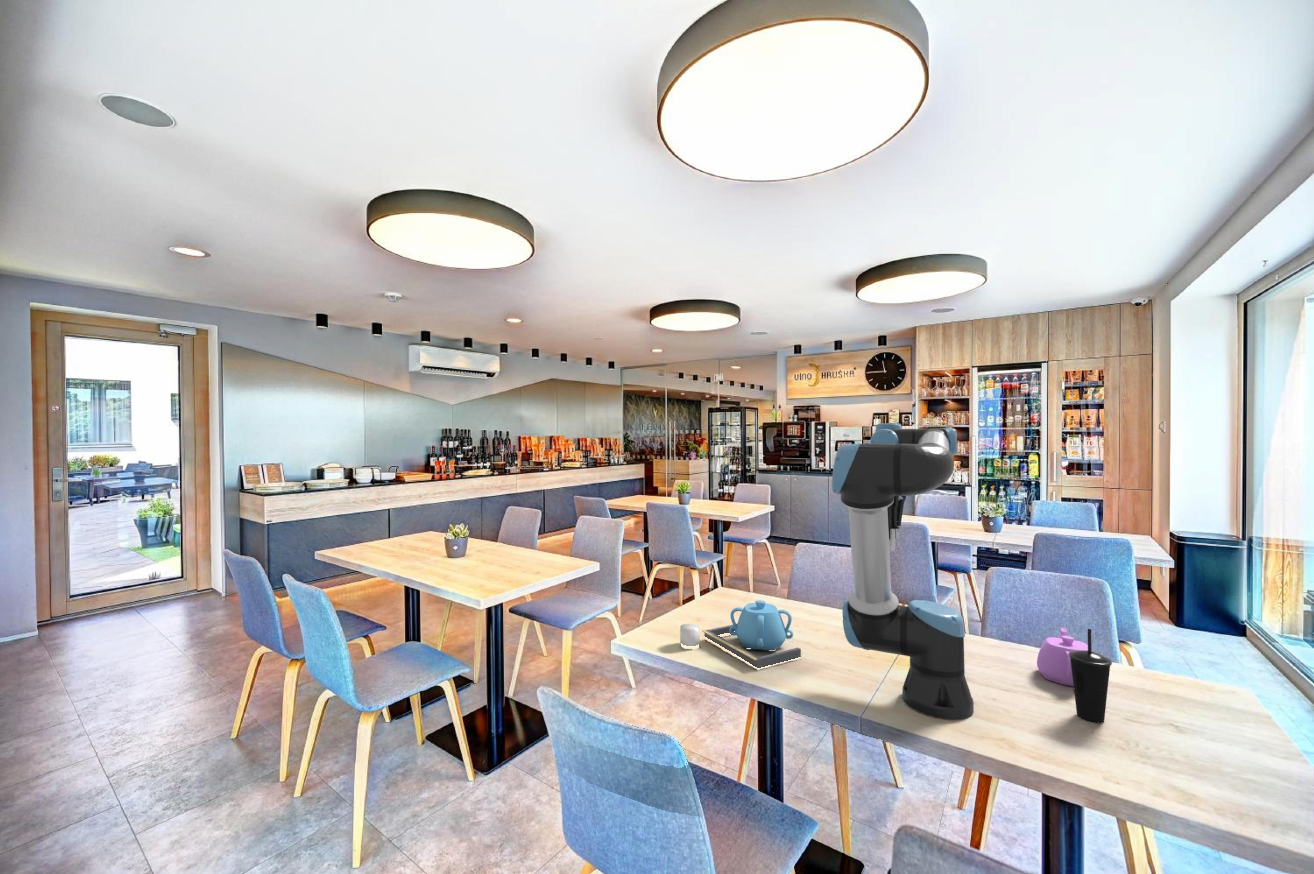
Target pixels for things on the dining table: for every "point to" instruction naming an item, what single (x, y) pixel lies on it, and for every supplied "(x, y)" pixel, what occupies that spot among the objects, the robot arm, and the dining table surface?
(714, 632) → the grey piece
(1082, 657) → the drinking cup
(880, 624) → the robot arm
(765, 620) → the decorative pot
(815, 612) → the dining table surface
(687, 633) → the white rounded cylinder
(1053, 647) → the teapot
